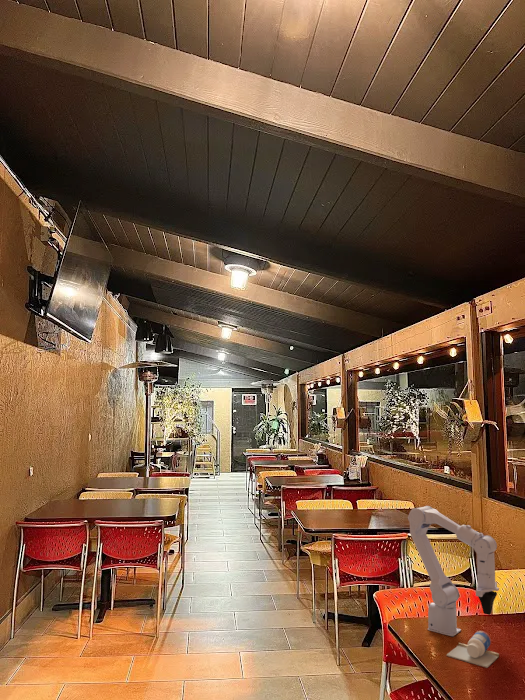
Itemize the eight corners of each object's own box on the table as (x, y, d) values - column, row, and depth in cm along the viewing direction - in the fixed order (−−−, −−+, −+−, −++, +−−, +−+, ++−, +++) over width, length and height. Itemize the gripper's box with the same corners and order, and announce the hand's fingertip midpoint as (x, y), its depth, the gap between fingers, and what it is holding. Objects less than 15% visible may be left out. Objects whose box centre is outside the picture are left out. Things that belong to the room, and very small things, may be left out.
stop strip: (458, 646, 190) (458, 643, 190) (459, 645, 190) (459, 642, 190) (498, 657, 181) (497, 654, 181) (499, 656, 182) (498, 653, 182)
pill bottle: (487, 650, 186) (477, 664, 178) (472, 639, 189) (461, 652, 181) (494, 637, 184) (484, 651, 177) (478, 626, 187) (468, 639, 180)
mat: (446, 655, 182) (446, 654, 182) (458, 646, 190) (458, 645, 190) (487, 667, 174) (487, 666, 174) (498, 657, 181) (497, 656, 181)
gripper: (490, 579, 187) (491, 622, 185) (505, 570, 197) (506, 611, 196) (469, 575, 191) (470, 616, 190) (485, 567, 202) (486, 606, 201)
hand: (487, 613), depth 193 cm, fingers closed
